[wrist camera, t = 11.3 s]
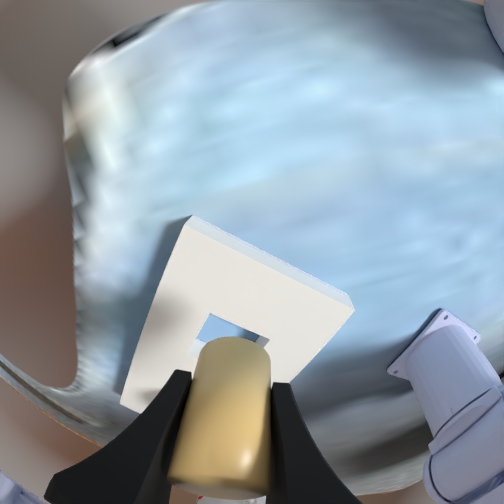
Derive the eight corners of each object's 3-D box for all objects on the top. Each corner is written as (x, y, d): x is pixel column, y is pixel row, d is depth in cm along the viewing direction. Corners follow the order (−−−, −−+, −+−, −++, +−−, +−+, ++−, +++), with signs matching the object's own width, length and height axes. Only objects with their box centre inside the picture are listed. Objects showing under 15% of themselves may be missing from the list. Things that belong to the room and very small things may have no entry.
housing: (347, 294, 19) (355, 309, 17) (222, 429, 27) (220, 443, 25) (192, 214, 17) (184, 224, 15) (125, 390, 25) (119, 403, 23)
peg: (264, 388, 12) (260, 502, 6) (198, 379, 12) (171, 490, 6) (277, 342, 11) (281, 480, 5) (199, 331, 11) (160, 463, 5)
